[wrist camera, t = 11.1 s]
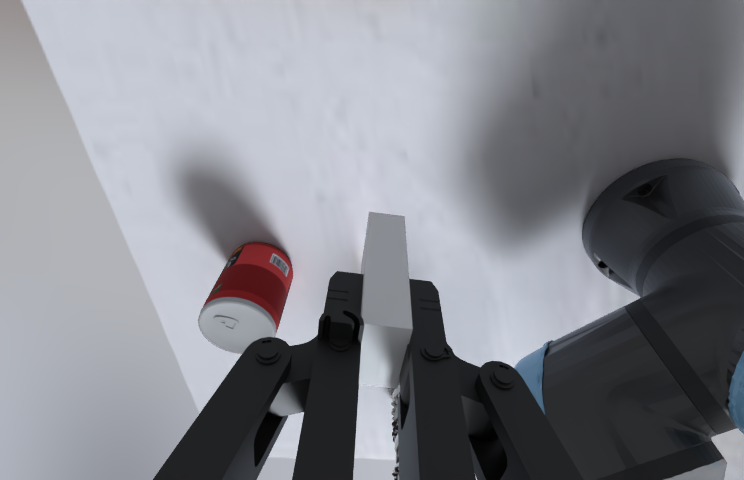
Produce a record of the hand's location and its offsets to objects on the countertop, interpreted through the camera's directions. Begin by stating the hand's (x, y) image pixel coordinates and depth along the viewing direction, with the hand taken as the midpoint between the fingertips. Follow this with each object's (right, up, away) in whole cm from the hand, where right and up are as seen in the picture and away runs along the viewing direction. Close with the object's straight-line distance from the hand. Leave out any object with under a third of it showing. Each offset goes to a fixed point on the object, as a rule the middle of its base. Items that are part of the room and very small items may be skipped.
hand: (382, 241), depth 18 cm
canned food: (-14, -3, +34) cm, 37 cm away
